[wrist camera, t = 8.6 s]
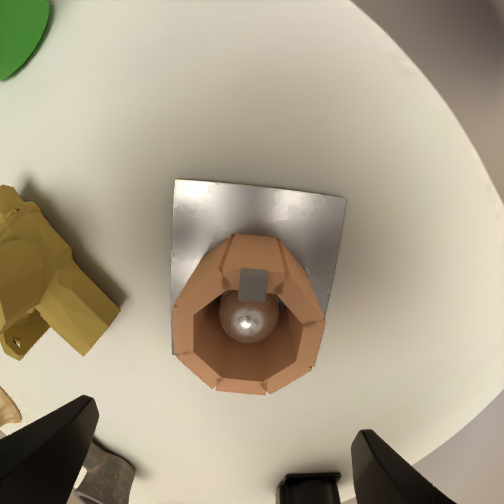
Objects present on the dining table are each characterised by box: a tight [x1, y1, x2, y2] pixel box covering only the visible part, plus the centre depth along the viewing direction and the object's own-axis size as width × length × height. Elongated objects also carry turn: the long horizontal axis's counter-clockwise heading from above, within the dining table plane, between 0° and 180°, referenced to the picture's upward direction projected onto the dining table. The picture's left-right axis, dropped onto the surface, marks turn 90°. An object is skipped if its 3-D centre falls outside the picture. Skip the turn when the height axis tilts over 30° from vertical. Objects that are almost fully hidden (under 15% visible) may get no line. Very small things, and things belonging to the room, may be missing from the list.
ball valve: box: [0, 185, 121, 361], centre depth 15 cm, size 13×10×10 cm
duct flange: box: [171, 179, 347, 369], centre depth 16 cm, size 10×12×6 cm
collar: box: [173, 233, 325, 395], centre depth 15 cm, size 6×6×7 cm
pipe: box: [74, 441, 135, 504], centre depth 22 cm, size 6×13×8 cm, turn 32°
